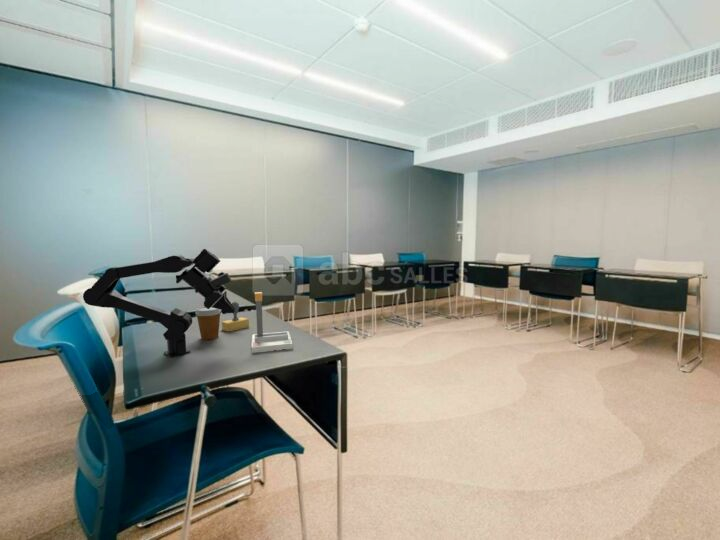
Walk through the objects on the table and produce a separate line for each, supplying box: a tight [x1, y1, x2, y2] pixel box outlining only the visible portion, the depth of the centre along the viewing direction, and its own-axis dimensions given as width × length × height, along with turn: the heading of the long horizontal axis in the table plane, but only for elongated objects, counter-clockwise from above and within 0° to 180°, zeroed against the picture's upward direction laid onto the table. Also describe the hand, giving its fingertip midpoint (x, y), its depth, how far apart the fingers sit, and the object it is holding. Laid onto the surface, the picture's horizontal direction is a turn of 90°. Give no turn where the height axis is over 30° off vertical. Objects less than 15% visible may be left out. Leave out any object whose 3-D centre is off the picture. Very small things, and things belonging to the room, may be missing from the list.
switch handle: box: [254, 291, 264, 337], centre depth 123 cm, size 3×3×18 cm
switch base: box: [251, 330, 293, 354], centre depth 125 cm, size 14×16×4 cm
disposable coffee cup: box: [194, 305, 222, 341], centre depth 133 cm, size 10×10×12 cm
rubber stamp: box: [221, 301, 250, 332], centre depth 146 cm, size 10×6×12 cm, turn 140°
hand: (234, 311), depth 120 cm, fingers open, 2 cm apart
